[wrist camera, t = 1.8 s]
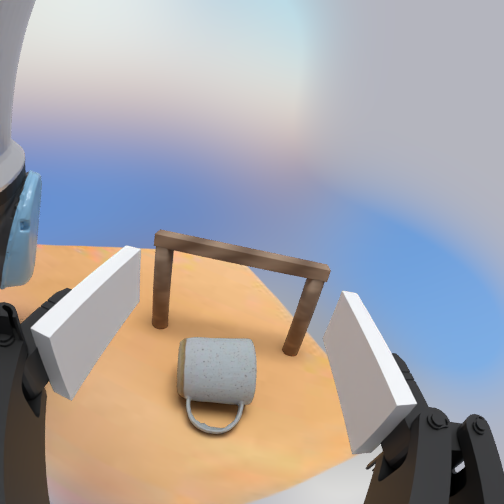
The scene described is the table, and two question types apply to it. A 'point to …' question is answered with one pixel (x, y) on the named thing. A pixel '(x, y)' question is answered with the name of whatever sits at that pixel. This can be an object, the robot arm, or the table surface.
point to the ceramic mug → (216, 374)
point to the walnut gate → (242, 256)
